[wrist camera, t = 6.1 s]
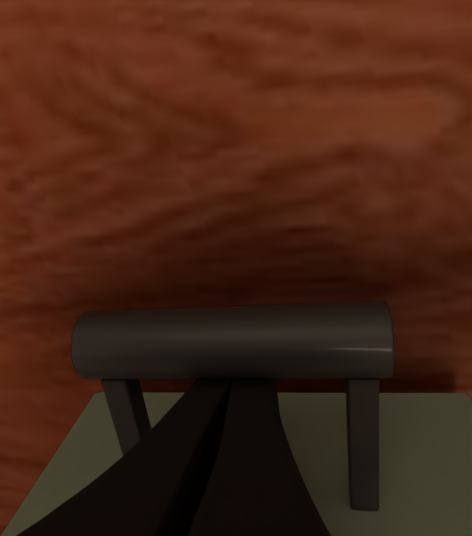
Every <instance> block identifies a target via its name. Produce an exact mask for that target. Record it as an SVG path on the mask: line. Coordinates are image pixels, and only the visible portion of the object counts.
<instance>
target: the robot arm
mask: <svg viewBox="0 0 472 536" xmlns="http://www.w3.org/2000/svg"><path fill="white" fill-rule="evenodd" d="M16 536H331V535H330V533H329V531H328V529H327V527H326V525H325V524H324V522H323V520H322V518H321V516H320V514H319V512H318V510H317V508H316V506H315V504H314V502H313V500H312V498H311V496H310V494H309V492H308V489H307V487H306V485H305V483H304V480H303V478H302V476H301V474H300V471H299V469H298V466H297V464H296V462H295V459H294V456H293V454H292V451H291V448H290V446H289V443H288V440H287V437H286V434H285V431H284V428H283V425H282V421H281V418H280V411H279V402H278V393H277V384H276V378H251V379H196V381H195V382H194V383H193V384H192V385H191V386H190V388H189V389H188V390H187V391H186V392H185V393H184V394H183V396H182V397H181V398H180V399H179V400H178V401H177V402H176V403H175V404H174V406H173V407H172V408H171V409H170V410H169V411H168V412H167V413H166V414H165V415H164V416H163V418H162V419H161V420H160V421H159V422H158V423H157V424H156V425H155V426H154V427H153V428H152V429H151V430H150V431H149V432H148V433H147V434H146V435H145V436H144V437H143V438H142V439H141V440H140V441H139V442H138V443H137V444H136V445H134V446H133V447H132V448H131V449H130V450H129V451H128V452H127V453H126V454H125V455H124V456H123V457H121V458H120V459H119V460H118V461H117V462H116V463H114V464H113V465H112V466H111V467H110V468H108V469H107V470H106V471H105V472H104V473H102V474H101V475H100V476H99V477H98V478H96V479H95V480H94V481H93V482H91V483H90V484H89V485H87V486H86V487H85V488H83V489H82V490H81V491H79V492H78V493H77V494H75V495H74V496H72V497H71V498H70V499H68V500H67V501H66V502H64V503H63V504H61V505H60V506H59V507H57V508H56V509H55V510H53V511H52V512H51V513H49V514H48V515H46V516H45V517H44V518H42V519H41V520H39V521H38V522H36V523H35V524H33V525H32V526H30V527H29V528H27V529H25V530H24V531H22V532H21V533H19V534H18V535H16Z"/></svg>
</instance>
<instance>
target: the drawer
mask: <svg viewBox="0 0 472 536" xmlns="http://www.w3.org/2000/svg"><path fill="white" fill-rule="evenodd" d="M71 357H72V362H73V365H74V368H75V370H76V372H77V373H78V374H79V375H80V376H81V377H82V378H85V379H102V381H101V384H102V387H103V391H104V392H97V393H95V394H94V395H93V397H92V398H91V400H90V401H89V403H88V404H87V406H86V407H85V409H84V410H83V412H82V413H81V415H80V416H79V418H78V419H77V421H76V422H75V424H74V425H73V427H72V428H71V430H70V432H69V433H68V435H67V436H66V438H65V439H64V441H63V442H62V444H61V445H60V447H59V448H58V450H57V451H56V453H55V454H54V456H53V457H52V459H51V460H50V462H49V463H48V465H47V466H46V468H45V469H44V471H43V472H42V474H41V475H40V477H39V479H38V480H37V482H36V483H35V485H34V486H33V488H32V489H31V491H30V492H29V494H28V495H27V497H26V498H25V500H24V501H23V503H22V504H21V506H20V507H19V509H18V510H17V512H16V513H15V515H14V516H13V518H12V519H11V521H10V523H9V524H8V526H7V527H6V529H5V530H4V532H3V533H2V535H1V536H16V535H18V534H19V533H21V532H22V531H24V530H25V529H27V528H29V527H30V526H32V525H33V524H35V523H36V522H38V521H39V520H41V519H42V518H44V517H45V516H46V515H48V514H49V513H51V512H52V511H53V510H55V509H56V508H57V507H59V506H60V505H61V504H63V503H64V502H66V501H67V500H68V499H70V498H71V497H72V496H74V495H75V494H77V493H78V492H79V491H81V490H82V489H83V488H85V487H86V486H87V485H89V484H90V483H91V482H93V481H94V480H95V479H96V478H98V477H99V476H100V475H101V474H102V473H104V472H105V471H106V470H107V469H108V468H110V467H111V466H112V465H113V464H114V463H116V462H117V461H118V460H119V459H120V458H121V457H123V456H124V455H125V454H126V453H127V452H128V451H129V450H130V449H131V448H132V447H133V446H134V445H136V444H137V443H138V442H139V441H140V440H141V439H142V438H143V437H144V436H145V435H146V434H147V433H148V432H149V431H150V430H151V429H152V428H153V427H154V426H155V425H156V424H157V423H158V422H159V421H160V420H161V419H162V418H163V416H164V415H165V414H166V413H167V412H168V411H169V410H170V409H171V408H172V407H173V406H174V404H175V403H176V402H177V401H178V400H179V399H180V398H181V397H182V396H183V394H184V393H147V392H142V389H141V385H140V382H139V379H251V378H345V391H346V393H278V402H279V411H280V418H281V421H282V425H283V428H284V431H285V434H286V437H287V440H288V443H289V446H290V448H291V451H292V454H293V456H294V459H295V462H296V464H297V466H298V469H299V471H300V474H301V476H302V478H303V480H304V483H305V485H306V487H307V489H308V492H309V494H310V496H311V498H312V500H313V502H314V504H315V506H316V508H317V510H318V512H319V514H320V516H321V518H322V520H323V522H324V524H325V525H326V527H327V529H328V531H329V533H330V535H331V536H472V401H471V399H470V397H469V395H468V394H467V393H379V378H390V377H392V376H393V372H394V365H395V345H394V332H393V324H392V317H391V312H390V308H389V305H388V303H387V302H386V301H384V300H379V301H351V302H323V303H295V304H268V305H240V306H212V307H184V308H157V309H129V310H101V311H88V312H85V313H84V314H82V315H81V316H80V317H79V319H78V320H77V322H76V324H75V326H74V329H73V333H72V338H71Z"/></svg>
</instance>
